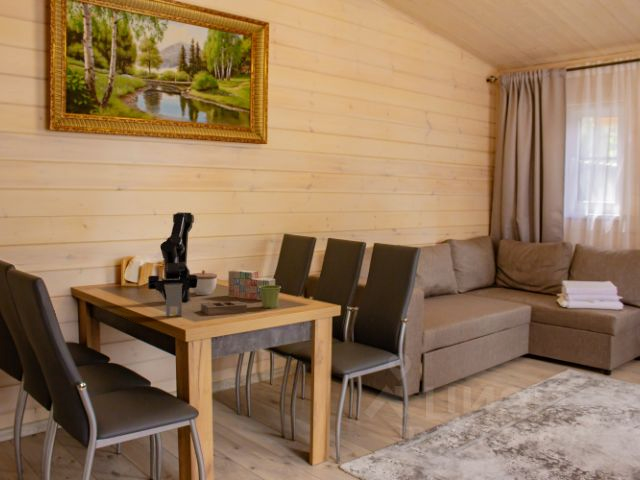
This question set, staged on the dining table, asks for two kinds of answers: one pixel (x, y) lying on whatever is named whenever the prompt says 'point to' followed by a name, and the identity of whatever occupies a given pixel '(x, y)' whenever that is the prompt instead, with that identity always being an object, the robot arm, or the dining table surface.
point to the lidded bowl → (205, 283)
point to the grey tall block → (173, 297)
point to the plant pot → (269, 295)
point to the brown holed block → (223, 307)
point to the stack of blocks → (246, 284)
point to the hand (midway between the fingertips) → (173, 299)
